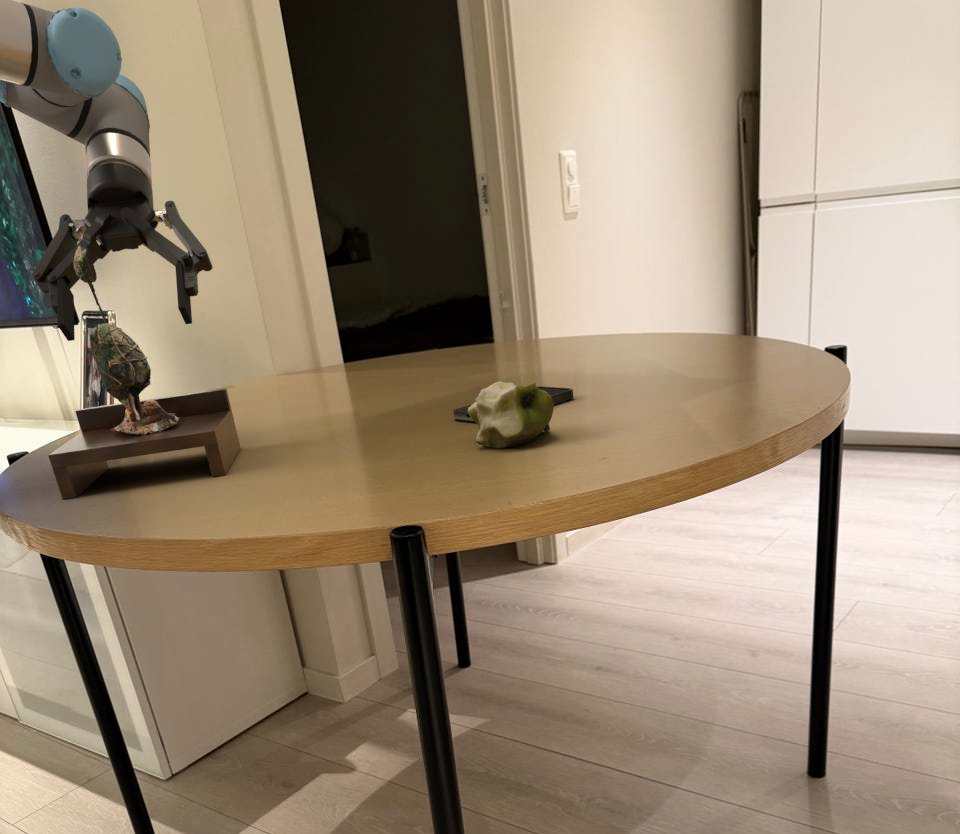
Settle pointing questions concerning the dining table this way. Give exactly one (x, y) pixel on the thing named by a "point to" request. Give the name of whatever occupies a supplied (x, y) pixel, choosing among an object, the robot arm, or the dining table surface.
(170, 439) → the bench
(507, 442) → the fruit
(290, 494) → the dining table surface
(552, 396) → the phone
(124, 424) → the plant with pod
